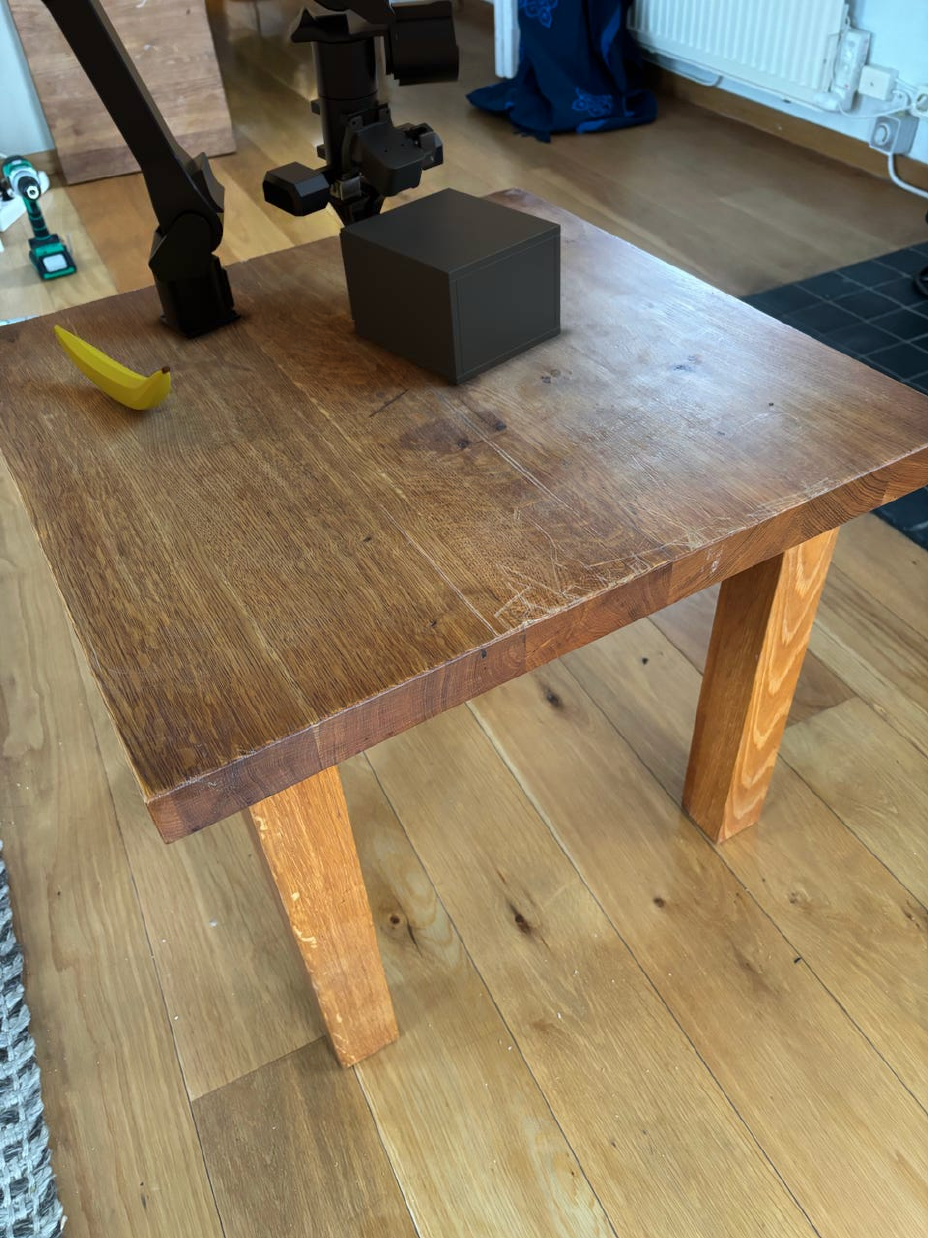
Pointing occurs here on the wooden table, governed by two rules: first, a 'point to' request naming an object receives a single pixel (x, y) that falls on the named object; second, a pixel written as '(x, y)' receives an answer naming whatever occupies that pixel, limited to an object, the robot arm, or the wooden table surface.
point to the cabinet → (454, 282)
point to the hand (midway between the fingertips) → (364, 251)
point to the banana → (115, 374)
